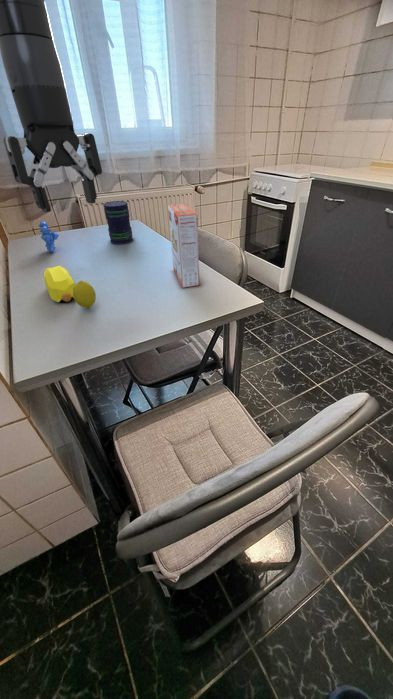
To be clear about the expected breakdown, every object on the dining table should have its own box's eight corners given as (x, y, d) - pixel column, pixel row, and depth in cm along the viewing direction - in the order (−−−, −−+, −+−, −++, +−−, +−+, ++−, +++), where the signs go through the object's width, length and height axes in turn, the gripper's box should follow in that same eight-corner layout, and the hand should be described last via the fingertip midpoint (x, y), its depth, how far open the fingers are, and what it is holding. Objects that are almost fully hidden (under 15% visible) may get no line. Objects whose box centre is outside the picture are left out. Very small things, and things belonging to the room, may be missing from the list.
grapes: (64, 254, 116) (54, 222, 109) (46, 257, 114) (35, 224, 107) (62, 246, 125) (53, 215, 118) (45, 248, 123) (35, 217, 116)
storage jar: (137, 238, 131) (132, 201, 122) (125, 245, 124) (118, 206, 115) (118, 236, 134) (112, 200, 125) (105, 243, 127) (97, 205, 118)
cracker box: (172, 271, 100) (167, 204, 87) (189, 269, 101) (186, 202, 88) (180, 288, 89) (176, 214, 76) (200, 286, 90) (198, 212, 77)
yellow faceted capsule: (70, 279, 97) (45, 284, 94) (64, 259, 92) (37, 264, 89) (83, 301, 84) (54, 308, 81) (76, 279, 80) (46, 285, 77)
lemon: (95, 313, 78) (87, 285, 73) (74, 313, 78) (66, 285, 74) (101, 303, 83) (94, 276, 78) (81, 303, 83) (73, 276, 78)
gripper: (70, 90, 49) (93, 198, 58) (-25, 84, 41) (20, 211, 50) (95, 85, 45) (115, 203, 54) (-6, 78, 36) (39, 218, 46)
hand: (69, 207), depth 52 cm, fingers open, 8 cm apart
